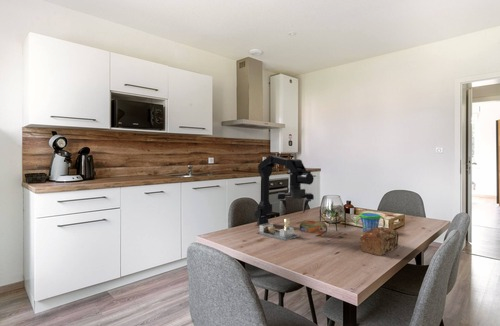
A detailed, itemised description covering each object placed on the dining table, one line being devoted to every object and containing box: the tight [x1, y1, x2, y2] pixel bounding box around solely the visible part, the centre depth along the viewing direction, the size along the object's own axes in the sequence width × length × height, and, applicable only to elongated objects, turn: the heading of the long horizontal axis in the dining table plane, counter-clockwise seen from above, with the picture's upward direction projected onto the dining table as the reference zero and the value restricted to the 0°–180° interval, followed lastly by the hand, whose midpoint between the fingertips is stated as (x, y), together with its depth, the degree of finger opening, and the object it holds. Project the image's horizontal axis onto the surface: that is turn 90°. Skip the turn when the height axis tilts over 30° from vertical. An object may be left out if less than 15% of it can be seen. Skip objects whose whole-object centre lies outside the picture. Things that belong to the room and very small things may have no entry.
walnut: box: [268, 226, 276, 234], centre depth 157 cm, size 4×4×3 cm
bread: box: [359, 226, 399, 257], centre depth 133 cm, size 19×11×10 cm, turn 131°
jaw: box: [279, 218, 295, 238], centre depth 149 cm, size 3×8×9 cm, turn 134°
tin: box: [299, 219, 328, 238], centre depth 157 cm, size 15×3×8 cm, turn 62°
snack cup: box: [355, 212, 386, 233], centre depth 164 cm, size 16×10×10 cm
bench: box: [256, 222, 302, 242], centre depth 153 cm, size 20×14×6 cm
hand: (294, 212), depth 151 cm, fingers open, 9 cm apart
